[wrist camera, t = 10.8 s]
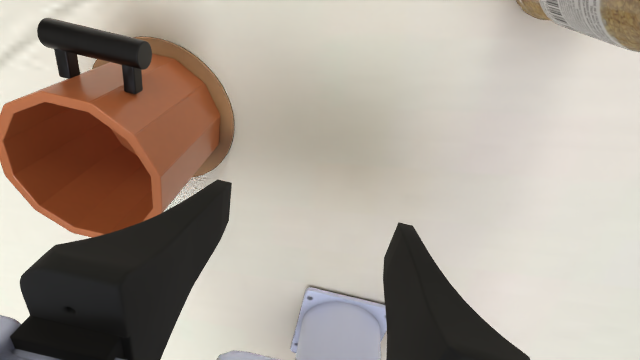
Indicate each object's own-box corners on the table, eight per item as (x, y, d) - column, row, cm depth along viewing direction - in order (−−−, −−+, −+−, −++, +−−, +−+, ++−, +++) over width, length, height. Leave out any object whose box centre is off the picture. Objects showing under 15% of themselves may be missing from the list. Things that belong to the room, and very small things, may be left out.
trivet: (229, 190, 27) (228, 191, 27) (101, 159, 27) (99, 161, 27) (239, 57, 22) (238, 58, 22) (79, 19, 22) (77, 20, 22)
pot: (217, 179, 27) (164, 255, 20) (108, 153, 27) (18, 220, 20) (225, 29, 21) (154, 64, 14) (87, -3, 21) (-49, 15, 14)
